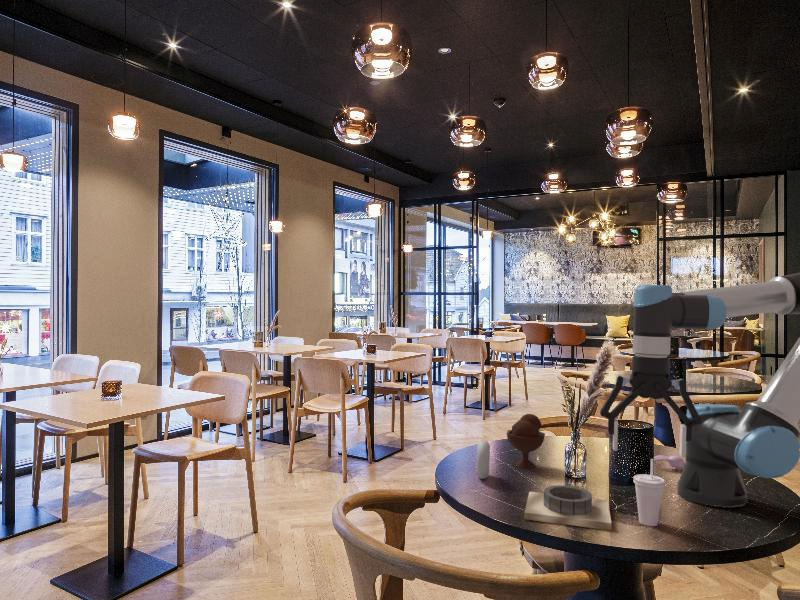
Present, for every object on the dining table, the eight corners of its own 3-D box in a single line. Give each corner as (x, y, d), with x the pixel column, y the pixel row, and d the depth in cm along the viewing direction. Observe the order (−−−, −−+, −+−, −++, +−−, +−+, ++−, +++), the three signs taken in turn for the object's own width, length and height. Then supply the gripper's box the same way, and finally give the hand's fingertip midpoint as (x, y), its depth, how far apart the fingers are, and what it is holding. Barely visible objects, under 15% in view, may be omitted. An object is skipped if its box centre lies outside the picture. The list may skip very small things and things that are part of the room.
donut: (489, 484, 147) (489, 446, 147) (475, 483, 148) (476, 445, 148) (489, 472, 157) (490, 436, 157) (477, 471, 158) (477, 436, 158)
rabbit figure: (703, 473, 164) (649, 461, 166) (707, 452, 164) (653, 441, 166) (711, 479, 158) (655, 467, 160) (715, 459, 158) (659, 447, 160)
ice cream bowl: (515, 458, 171) (515, 408, 171) (550, 465, 165) (551, 413, 165) (499, 466, 163) (500, 414, 163) (536, 474, 156) (537, 420, 156)
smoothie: (667, 529, 120) (668, 464, 120) (635, 527, 121) (636, 462, 121) (660, 518, 126) (661, 455, 126) (629, 515, 128) (630, 453, 127)
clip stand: (607, 506, 133) (607, 487, 133) (611, 530, 120) (611, 509, 119) (529, 497, 138) (529, 479, 138) (524, 519, 125) (524, 498, 125)
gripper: (710, 356, 123) (707, 453, 124) (590, 350, 131) (587, 442, 131) (719, 360, 116) (716, 463, 116) (591, 353, 123) (588, 450, 124)
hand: (648, 452), depth 124 cm, fingers open, 13 cm apart
